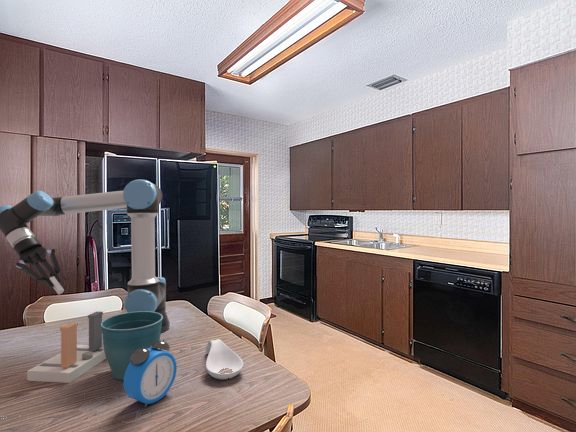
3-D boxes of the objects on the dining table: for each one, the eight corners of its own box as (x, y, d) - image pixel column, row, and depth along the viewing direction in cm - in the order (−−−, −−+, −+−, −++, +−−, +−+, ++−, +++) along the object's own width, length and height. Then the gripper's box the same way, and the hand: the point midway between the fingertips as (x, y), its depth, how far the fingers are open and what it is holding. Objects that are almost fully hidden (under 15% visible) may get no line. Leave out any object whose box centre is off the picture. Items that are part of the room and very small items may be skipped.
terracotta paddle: (77, 361, 104) (77, 322, 104) (67, 368, 99) (67, 327, 99) (70, 361, 104) (70, 322, 104) (59, 367, 99) (60, 327, 99)
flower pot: (172, 371, 104) (172, 319, 104) (111, 393, 91) (111, 333, 91) (149, 354, 117) (149, 308, 117) (93, 371, 104) (93, 319, 104)
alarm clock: (137, 415, 82) (137, 356, 82) (121, 408, 85) (122, 351, 85) (177, 390, 93) (177, 338, 93) (162, 385, 96) (162, 334, 96)
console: (111, 354, 117) (112, 342, 117) (70, 382, 97) (70, 367, 97) (75, 352, 118) (75, 340, 118) (27, 380, 98) (27, 365, 98)
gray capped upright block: (102, 346, 115) (102, 311, 115) (94, 351, 111) (94, 315, 111) (96, 346, 116) (96, 311, 116) (87, 351, 111) (87, 315, 111)
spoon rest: (248, 379, 100) (248, 356, 100) (210, 389, 95) (211, 364, 95) (226, 351, 121) (226, 332, 121) (194, 357, 116) (194, 337, 116)
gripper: (42, 240, 127) (77, 287, 126) (3, 254, 117) (40, 306, 115) (45, 230, 123) (81, 279, 121) (3, 244, 113) (42, 298, 111)
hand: (61, 292), depth 118 cm, fingers closed
